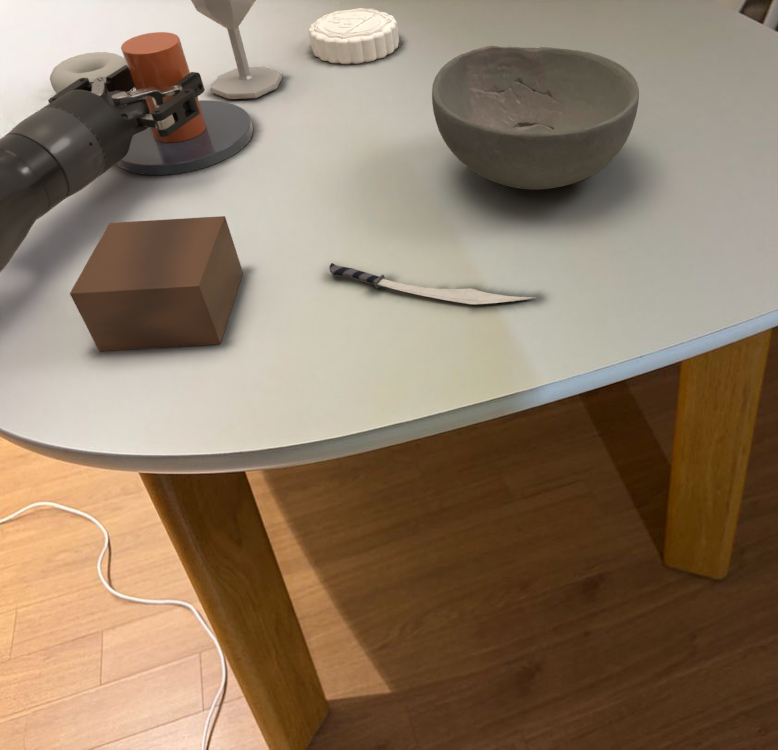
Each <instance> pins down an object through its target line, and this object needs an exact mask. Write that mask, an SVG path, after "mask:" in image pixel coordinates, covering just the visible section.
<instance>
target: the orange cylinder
mask: <svg viewBox="0 0 778 750" xmlns="http://www.w3.org/2000/svg"><path fill="white" fill-rule="evenodd" d="M120 50H121V53H122V55H123V58H125V61H126V64H127V67H128V69H129V72H130V75H131V78H132V80H133V83H134V86H135V87H134V89H135V91H137V90H141V89H144V88H148V87H152V86H153V87H156V88H157V89H163V88H166V87H170V86H173V85H174V84H175V83H177V82H178V81H179V80H181V79H182V78H184V77H185V76H186V75H188V74H189V73H191V71H190V67H189V64H188V62H187V58H186V55H185V52H184V48H183V45H182V42H181V39H180V36H178V34H175V33H173V32H167V31H156V32H148V33H143V34H139V35H135V36H133V37H131V38H129V39H127V40H125V41H124V42H123V43H122V44H121V46H120ZM172 97H173V96H168V97H165V98H164V99H163V102H164V103H165V102H166V101H168V100H169V99H171V98H172ZM145 99H146V102H147V105H148V107H149V110H150V114H151V111H153V110H154V109H155V105H154V102H153V99H152V97H148V98H145ZM196 101H197V105H198V108H199V111H200V114H199V115H197V116H196V117H195V118H193V119H192V120H190V121H189V122H188V123H186V124H185V125H183V126H182V127H181V128H179V129H178V130H176V131H175V132H173V133H172V134H171V135H169V136H166V137H160V136H159V134H158V131H157V129H156V128H150V130H151V133H152V136H153V138H154V139H156V140H157V141H160V142H165V143H176V142H182V141H187V140H190V139H192V138H195V137H197V136H199V135H200V134H202V133H203V132H204V131H205V129H206V123H205V119H204V116H203V113H202V110H201V106H200V103H199V96H198V97H197V98H196Z"/></svg>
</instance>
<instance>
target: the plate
mask: <svg viewBox="0 0 778 750" xmlns="http://www.w3.org/2000/svg"><path fill="white" fill-rule="evenodd" d="M198 100H199V99H198ZM199 103H200V106H201V110H202V113H203V116H204V119H205V123H206V129H205V131H204V132H203V133H202V134H200V135H199V136H197V137H195V138H192V139H190V140H187V141H182V142H176V143H165V142H160V141H157V140H156V139H154V138H153V136H152V133H151V130H150V127H148V128H147V129H146V130H144V131H142V132H139V133H137V134H135V135H133V137H132V140H131V143H130V148H129V151H128V153H127V154H126V156H125V157H124V158H122V159H121V160H120V161H119V162H117V163H116V164H115V165H116V166H117V167H119V168H120V169H122V170H124V171H128V172H130V173H134V174H139V175H147V176H166V175H178V174H183V173H189V172H193V171H197V170H202V169H205V168H208V167H211V166H213V165H216V164H219V163H221V162H223V161H225V160H227V159H229V158H231V157H232V156H234V155H236V154H237V153H239V152H240V151H241V150H242V149H243V148H245V147H246V145H247V144H248V143H249V142H250V141H251V138H252V136H253V132H254V127H253V123H252V119H251V116H250V115H249V113H248V112H247V111H246V110H245V109H244V108H243V107H240V106H238V105H236V104H234V103H230V102H226V101H221V100H206V99H204V100H201V99H200V100H199Z"/></svg>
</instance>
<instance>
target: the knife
mask: <svg viewBox="0 0 778 750" xmlns="http://www.w3.org/2000/svg"><path fill="white" fill-rule="evenodd" d="M328 270H329V272H330V274H332V276H339V277H347V278H351V279H355V280H358V281H362V282H365V283H368V284H370V285H374V288H375V289H376V290H378V289H379V288H381V287H383V288H388V289H393V290H396V291H401V292H404V293H409V294H413V295H418V296H422V297H427V298H431V299H437V300H443V301H449V302H454V303H460V304H467V305H489V304H497V303H498V304H499V303H508V302H516V301H524V300H529V299H530V300H531V299H535V298H537V296H535V297H534V296H516V295H514V296H513V295H504V294H498V293H497V294H496V293H491V292H485V291H481V290H478V289H475V288H472V287H467V288H437V287H425V286H419V285H413V284H408V283H402V282H397V281H394V280H391V279H387V278H386V277H385V274H381V275H380V276H379V275H375V274H372V273H369V272H366V271H362V270H359V269H355V268H352V267H347V266H341V265H337V264H334V263H333V262H331V263H330V264H329V269H328Z"/></svg>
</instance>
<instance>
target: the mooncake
mask: <svg viewBox="0 0 778 750" xmlns="http://www.w3.org/2000/svg"><path fill="white" fill-rule="evenodd" d="M308 35H309V40H310V46H311V51H312V52H313V55H314V56H315V57H316V58H319V59H320V60H321V61H323V62H329V63H331V64H341V65H350V64H355V65H357V64H363V63H370V62H374V61H375V60H379V59H383V58H386V56H387V55H391V54H393V53H394V51H395V50H396V49H398V48H399V43H400V35H399V29H398V22H397V20H396V19H395V16H394V15H392V14H389V13H388V12H385V11H379V10H377V9H375V8H365V7H364V8H363V7H359V8H353V9H348V10H347V9H346V10H335V11H333V12H331V13H327V14H326V13H325V14H323V16H322V17H319V18H317V19H316V20H315V21H314V22H312V23H311V24H310V28H308Z"/></svg>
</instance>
